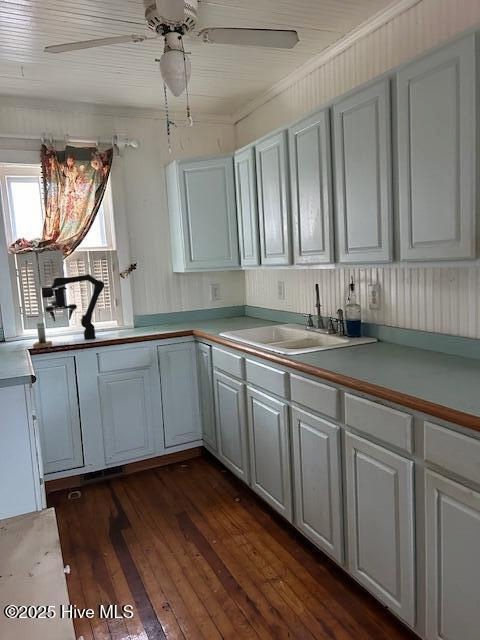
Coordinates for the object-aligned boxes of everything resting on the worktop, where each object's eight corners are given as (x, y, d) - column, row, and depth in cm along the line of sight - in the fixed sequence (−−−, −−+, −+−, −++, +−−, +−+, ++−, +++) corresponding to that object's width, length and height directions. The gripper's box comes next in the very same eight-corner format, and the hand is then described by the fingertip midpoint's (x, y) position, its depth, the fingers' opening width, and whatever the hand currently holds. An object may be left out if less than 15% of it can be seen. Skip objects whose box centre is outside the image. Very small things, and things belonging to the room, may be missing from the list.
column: (45, 341, 296) (43, 322, 295) (46, 342, 293) (44, 323, 291) (38, 342, 294) (36, 323, 293) (39, 343, 291) (36, 324, 289)
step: (52, 344, 299) (51, 340, 299) (49, 347, 290) (48, 343, 290) (36, 345, 297) (36, 342, 297) (33, 348, 289) (32, 344, 288)
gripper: (72, 295, 319) (74, 318, 321) (42, 297, 309) (44, 321, 312) (75, 295, 309) (78, 319, 312) (45, 298, 300) (47, 323, 302)
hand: (62, 321), depth 309 cm, fingers open, 9 cm apart
